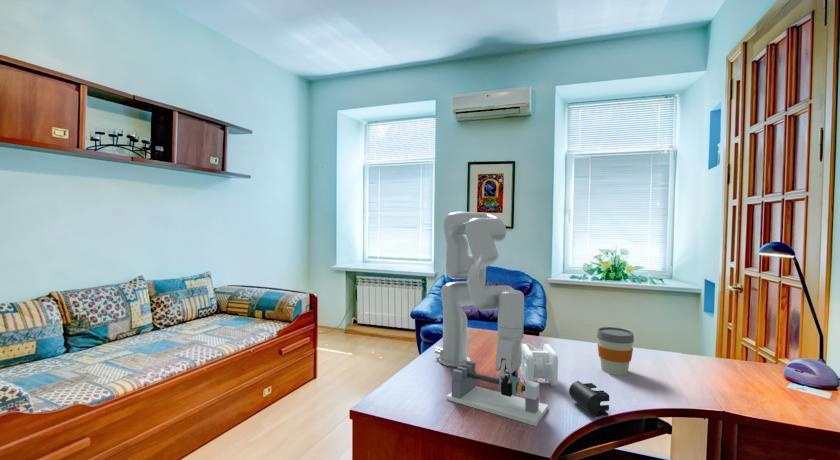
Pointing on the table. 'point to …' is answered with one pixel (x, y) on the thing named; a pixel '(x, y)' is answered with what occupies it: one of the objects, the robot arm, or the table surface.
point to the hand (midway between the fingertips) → (509, 391)
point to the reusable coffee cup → (615, 349)
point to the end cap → (589, 398)
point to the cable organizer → (539, 364)
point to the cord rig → (496, 396)
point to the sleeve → (514, 381)
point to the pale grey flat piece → (536, 348)
